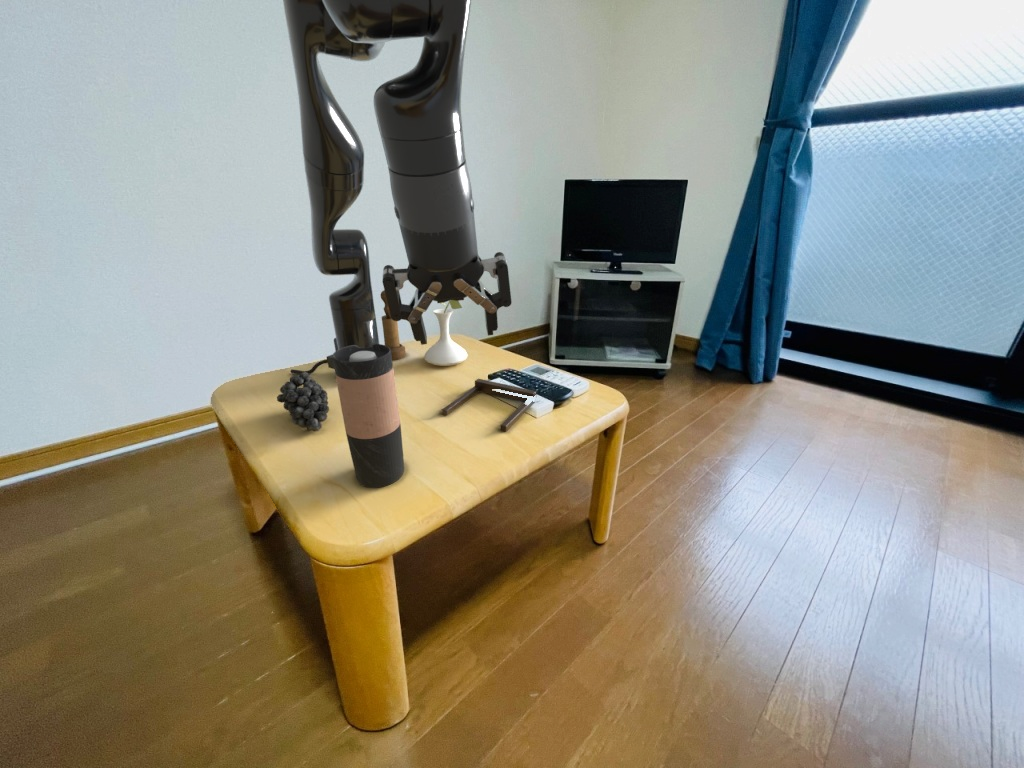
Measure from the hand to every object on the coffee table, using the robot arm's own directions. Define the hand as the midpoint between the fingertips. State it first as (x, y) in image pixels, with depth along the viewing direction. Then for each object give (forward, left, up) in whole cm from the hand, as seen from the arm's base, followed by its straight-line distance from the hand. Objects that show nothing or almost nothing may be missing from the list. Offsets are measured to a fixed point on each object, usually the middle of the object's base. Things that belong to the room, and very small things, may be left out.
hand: (457, 335), depth 51 cm
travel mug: (-12, -5, -23) cm, 26 cm away
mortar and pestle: (-46, +36, -23) cm, 63 cm away
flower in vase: (-30, +39, -23) cm, 54 cm away
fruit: (-36, +1, -23) cm, 42 cm away
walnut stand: (-8, +21, -23) cm, 32 cm away
